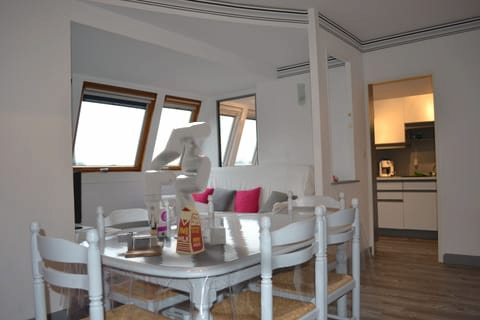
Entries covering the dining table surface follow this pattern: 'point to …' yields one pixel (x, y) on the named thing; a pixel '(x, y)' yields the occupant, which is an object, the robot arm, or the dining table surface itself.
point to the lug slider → (154, 240)
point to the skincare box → (218, 235)
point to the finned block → (141, 243)
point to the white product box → (162, 223)
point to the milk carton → (190, 232)
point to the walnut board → (145, 251)
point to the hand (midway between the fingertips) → (154, 239)
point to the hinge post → (129, 241)
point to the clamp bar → (133, 237)
